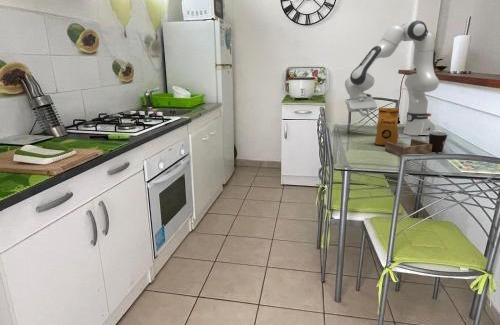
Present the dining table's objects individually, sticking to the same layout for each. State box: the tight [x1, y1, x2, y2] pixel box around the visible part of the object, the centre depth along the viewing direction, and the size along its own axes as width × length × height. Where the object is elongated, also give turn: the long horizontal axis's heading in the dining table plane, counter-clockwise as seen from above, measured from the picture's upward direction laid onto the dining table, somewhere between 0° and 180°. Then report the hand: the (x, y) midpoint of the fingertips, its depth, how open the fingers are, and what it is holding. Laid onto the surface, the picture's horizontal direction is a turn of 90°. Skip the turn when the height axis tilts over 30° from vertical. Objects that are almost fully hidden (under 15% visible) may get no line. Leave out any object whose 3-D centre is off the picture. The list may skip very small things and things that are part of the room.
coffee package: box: [374, 107, 399, 147], centre depth 192 cm, size 10×12×22 cm
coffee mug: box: [428, 131, 448, 153], centre depth 178 cm, size 12×9×10 cm
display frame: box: [384, 138, 432, 157], centre depth 179 cm, size 18×14×5 cm
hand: (366, 115), depth 209 cm, fingers closed
